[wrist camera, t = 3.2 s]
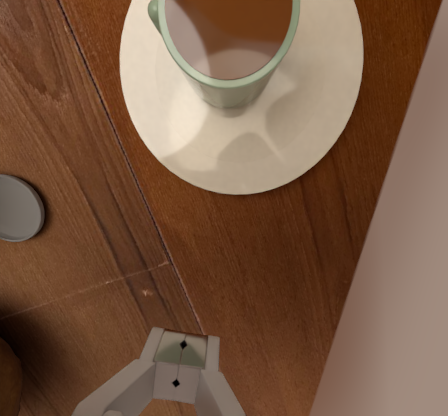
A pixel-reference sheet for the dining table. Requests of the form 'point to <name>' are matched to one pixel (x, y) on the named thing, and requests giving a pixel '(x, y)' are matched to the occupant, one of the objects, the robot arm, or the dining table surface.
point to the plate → (250, 113)
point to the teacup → (226, 44)
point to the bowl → (9, 381)
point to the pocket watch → (19, 210)
